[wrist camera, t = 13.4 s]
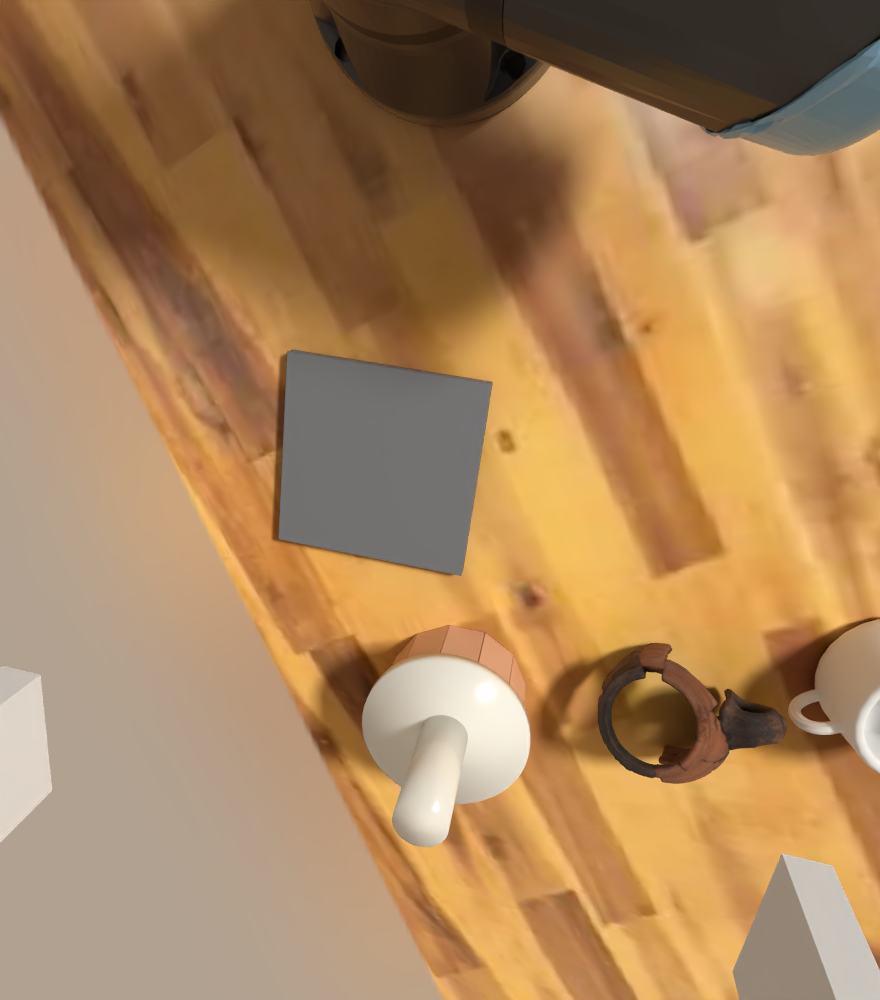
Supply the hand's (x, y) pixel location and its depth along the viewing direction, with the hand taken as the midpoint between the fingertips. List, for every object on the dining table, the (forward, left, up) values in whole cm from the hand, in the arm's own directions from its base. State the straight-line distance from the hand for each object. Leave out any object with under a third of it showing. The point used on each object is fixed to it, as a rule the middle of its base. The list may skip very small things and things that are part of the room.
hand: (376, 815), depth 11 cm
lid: (+22, -1, -30) cm, 37 cm away
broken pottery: (+19, +15, -35) cm, 42 cm away
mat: (+5, -9, -35) cm, 36 cm away
